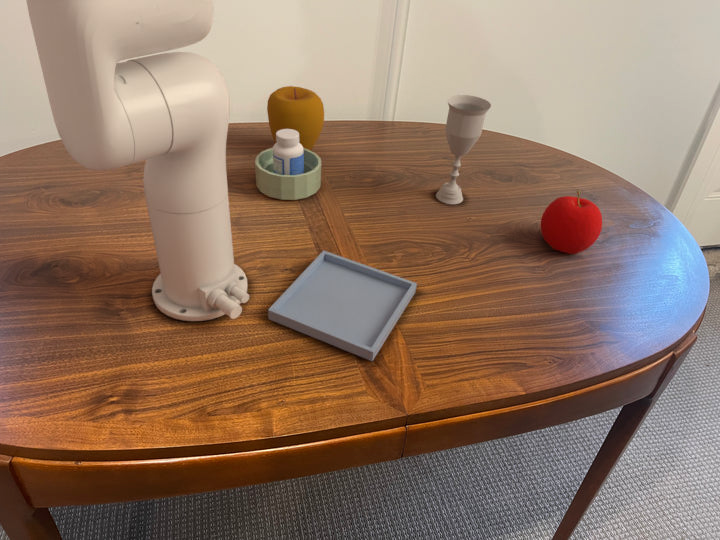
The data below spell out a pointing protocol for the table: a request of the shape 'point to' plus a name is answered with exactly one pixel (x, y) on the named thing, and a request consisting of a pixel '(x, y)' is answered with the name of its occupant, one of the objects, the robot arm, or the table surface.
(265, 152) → the bowl
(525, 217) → the table surface
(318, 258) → the tray
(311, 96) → the apple
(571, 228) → the fruit
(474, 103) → the chalice
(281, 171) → the pill bottle
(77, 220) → the table surface
